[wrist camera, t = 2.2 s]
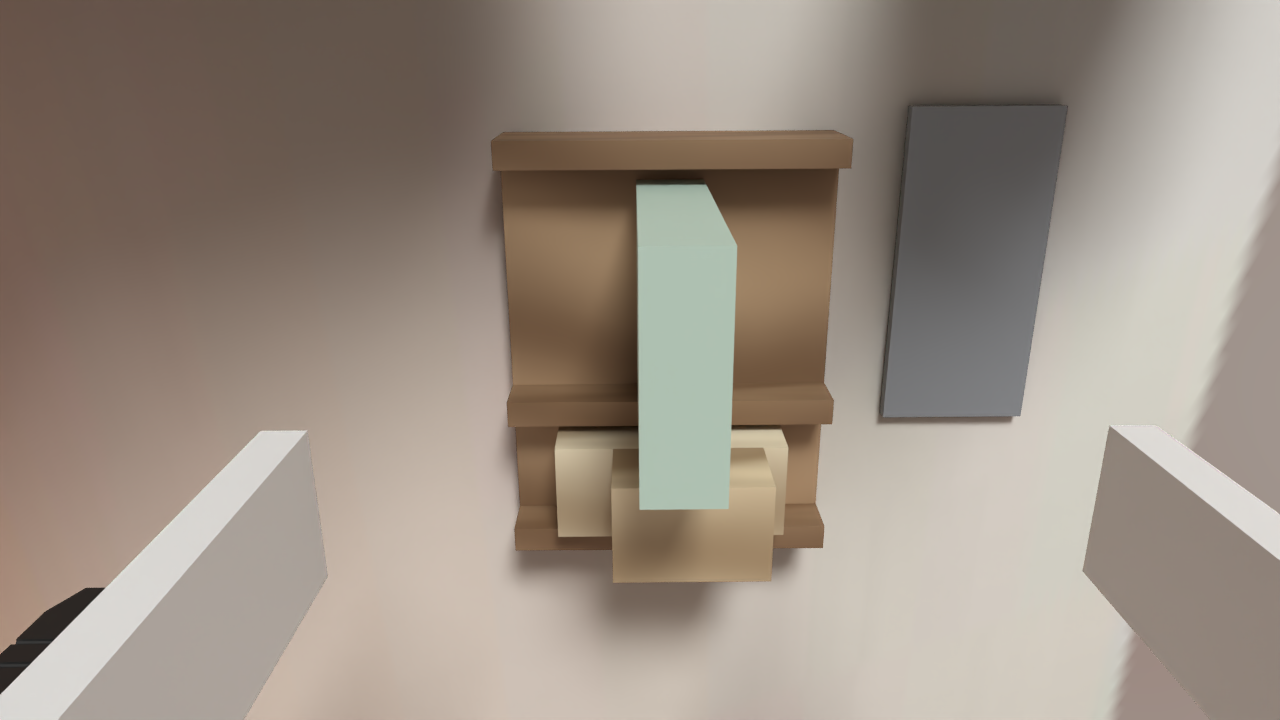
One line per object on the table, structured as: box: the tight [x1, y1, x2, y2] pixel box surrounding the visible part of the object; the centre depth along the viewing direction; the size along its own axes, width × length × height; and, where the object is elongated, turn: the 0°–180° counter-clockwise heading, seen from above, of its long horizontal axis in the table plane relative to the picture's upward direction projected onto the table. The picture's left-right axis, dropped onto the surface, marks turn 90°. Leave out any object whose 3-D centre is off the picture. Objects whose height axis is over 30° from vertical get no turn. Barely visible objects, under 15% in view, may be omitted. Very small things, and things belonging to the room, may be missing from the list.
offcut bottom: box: [555, 425, 788, 537], centre depth 28 cm, size 3×7×2 cm, turn 90°
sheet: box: [636, 179, 737, 510], centre depth 23 cm, size 6×2×9 cm, turn 0°
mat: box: [880, 105, 1068, 417], centre depth 28 cm, size 10×5×1 cm, turn 0°
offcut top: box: [611, 448, 776, 583], centre depth 26 cm, size 3×4×2 cm, turn 90°
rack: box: [491, 130, 853, 551], centre depth 28 cm, size 13×10×2 cm
